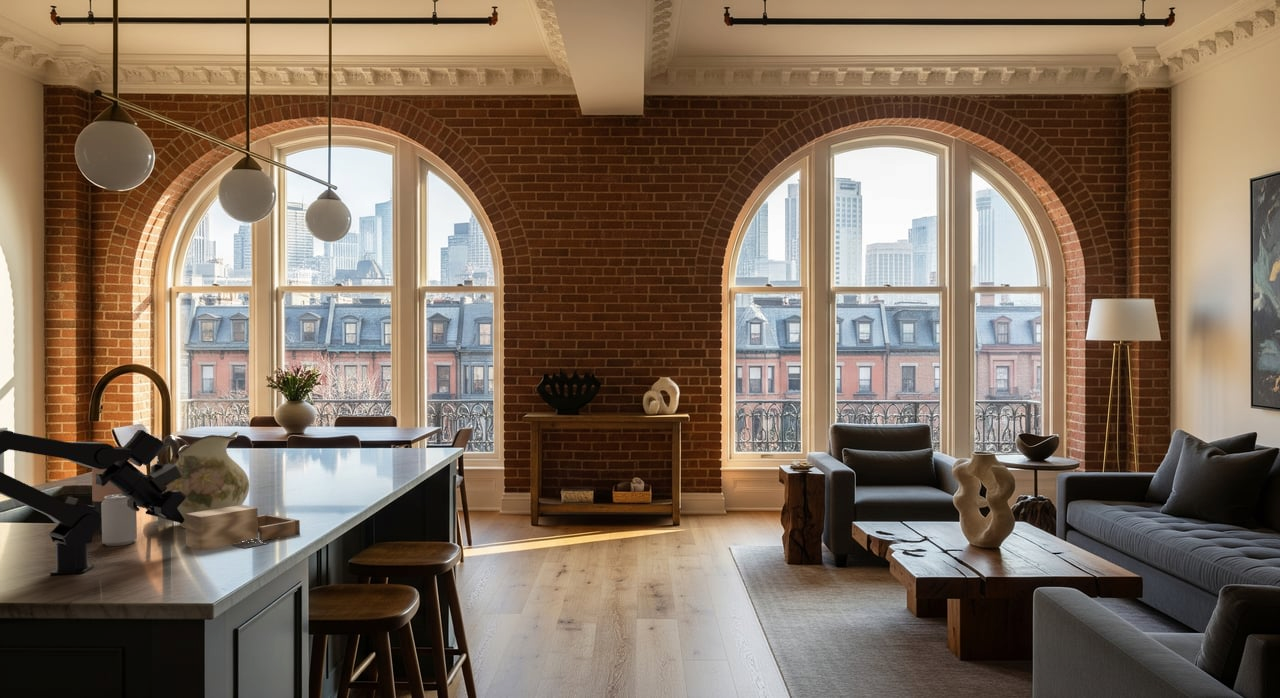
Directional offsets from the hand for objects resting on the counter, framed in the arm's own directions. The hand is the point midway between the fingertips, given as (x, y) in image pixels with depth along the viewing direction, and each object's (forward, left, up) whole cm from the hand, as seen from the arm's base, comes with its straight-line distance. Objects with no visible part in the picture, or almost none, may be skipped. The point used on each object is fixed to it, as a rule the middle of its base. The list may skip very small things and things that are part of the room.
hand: (182, 521), depth 210 cm
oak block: (+6, -7, -7) cm, 12 cm away
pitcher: (+33, +4, -7) cm, 34 cm away
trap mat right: (+1, -15, -7) cm, 16 cm away
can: (+13, +18, -7) cm, 23 cm away
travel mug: (+30, +26, -7) cm, 40 cm away
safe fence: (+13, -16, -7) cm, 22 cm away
